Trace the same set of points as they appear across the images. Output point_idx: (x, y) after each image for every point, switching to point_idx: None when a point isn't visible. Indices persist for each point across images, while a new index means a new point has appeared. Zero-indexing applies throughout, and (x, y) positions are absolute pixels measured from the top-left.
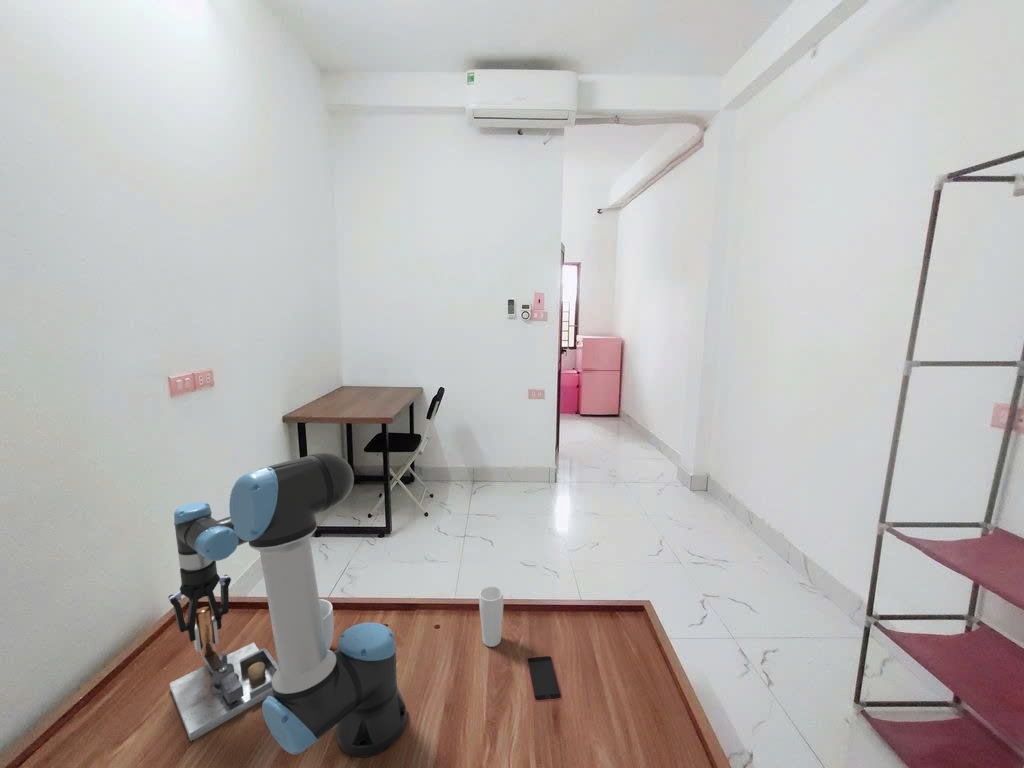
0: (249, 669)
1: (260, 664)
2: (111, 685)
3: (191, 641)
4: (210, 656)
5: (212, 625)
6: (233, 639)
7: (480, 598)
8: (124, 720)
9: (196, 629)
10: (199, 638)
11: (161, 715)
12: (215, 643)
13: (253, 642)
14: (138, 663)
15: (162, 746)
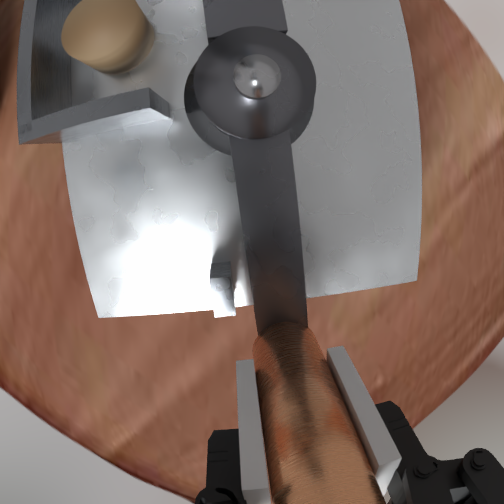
0: (127, 25)
1: (75, 37)
2: (466, 375)
3: (389, 401)
4: (283, 307)
5: (270, 467)
6: (178, 397)
7: None
8: (494, 222)
9: (392, 461)
10: (354, 405)
11: (440, 158)
12: (253, 363)
13: (99, 316)
14: (409, 422)
15: (438, 27)
